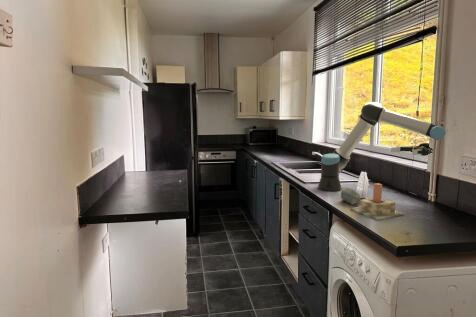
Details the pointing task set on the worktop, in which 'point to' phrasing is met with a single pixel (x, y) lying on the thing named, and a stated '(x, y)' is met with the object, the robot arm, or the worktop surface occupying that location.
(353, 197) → the green striped ellipsoid
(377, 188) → the peg
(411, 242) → the worktop surface
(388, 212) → the socket
